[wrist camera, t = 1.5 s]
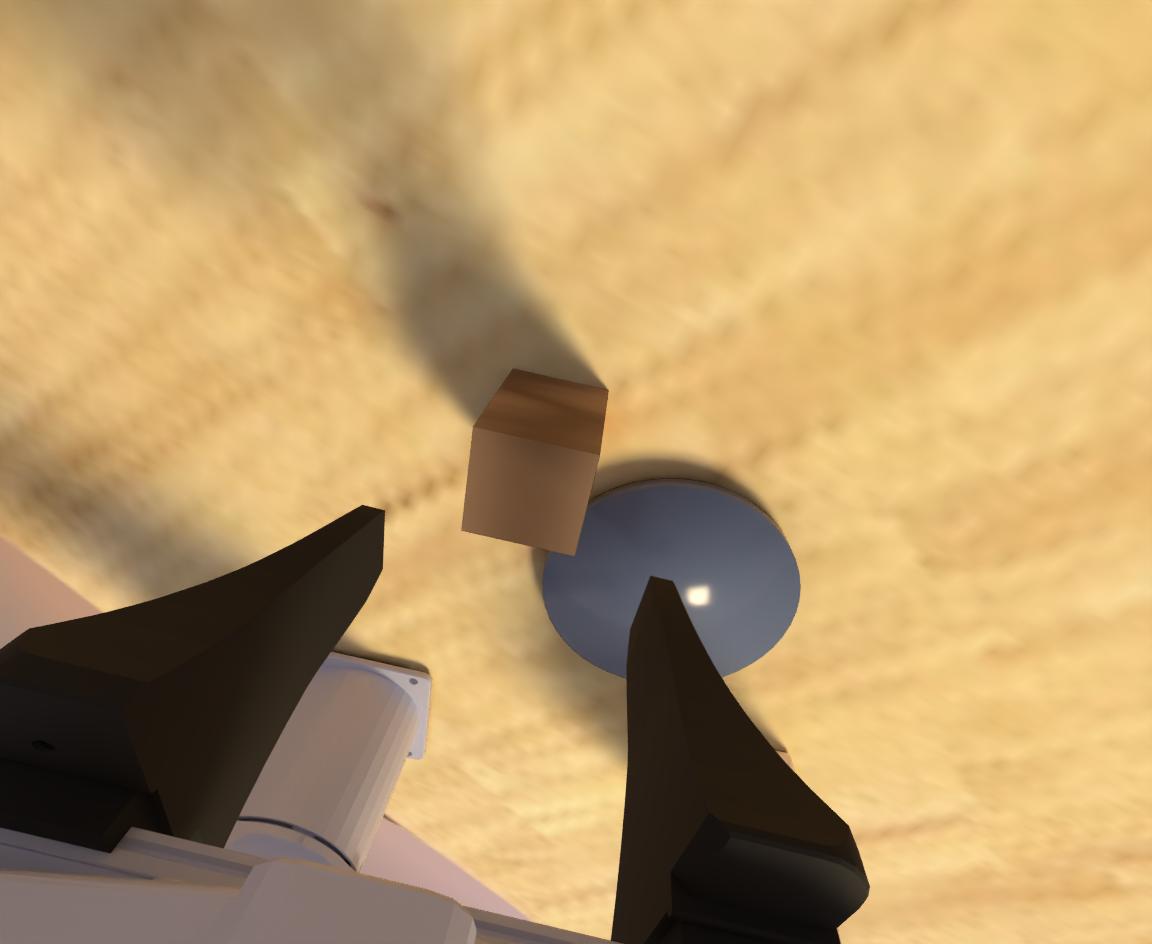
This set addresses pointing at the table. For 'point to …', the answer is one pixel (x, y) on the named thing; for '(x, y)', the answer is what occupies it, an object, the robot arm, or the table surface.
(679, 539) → the blue-grey round disc
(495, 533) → the walnut block
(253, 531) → the table surface
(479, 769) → the table surface
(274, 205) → the table surface
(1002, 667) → the table surface
